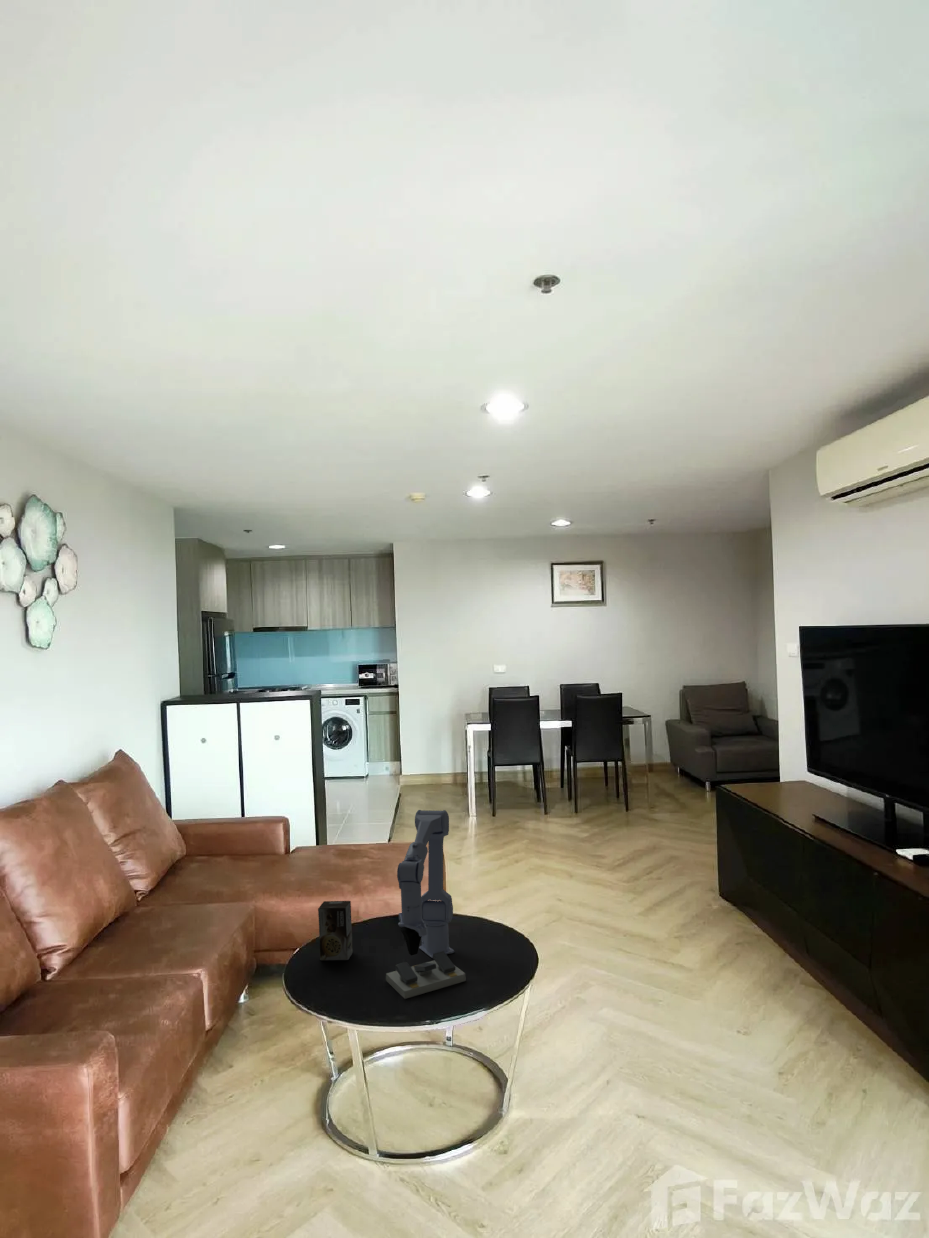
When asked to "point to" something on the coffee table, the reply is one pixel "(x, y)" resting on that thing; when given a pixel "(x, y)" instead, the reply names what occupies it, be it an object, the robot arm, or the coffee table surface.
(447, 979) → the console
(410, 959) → the coffee table surface
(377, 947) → the coffee table surface
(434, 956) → the rocker back
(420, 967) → the rocker mid
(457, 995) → the coffee table surface
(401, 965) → the block
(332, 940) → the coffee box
